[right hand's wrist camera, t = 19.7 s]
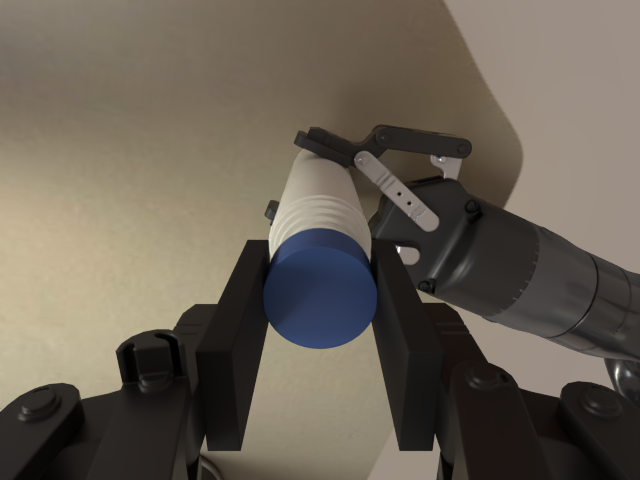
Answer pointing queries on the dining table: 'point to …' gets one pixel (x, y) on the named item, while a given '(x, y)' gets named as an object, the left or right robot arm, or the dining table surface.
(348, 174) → the bottle
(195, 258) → the dining table surface
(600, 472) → the right robot arm
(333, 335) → the cap
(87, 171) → the dining table surface
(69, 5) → the dining table surface
